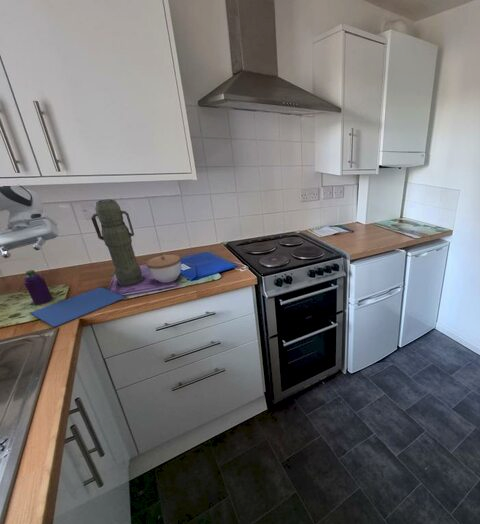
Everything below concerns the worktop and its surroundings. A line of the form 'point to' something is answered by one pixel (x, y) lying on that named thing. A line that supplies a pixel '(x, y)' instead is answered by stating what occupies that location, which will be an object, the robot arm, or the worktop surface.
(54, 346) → the worktop surface
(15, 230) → the robot arm
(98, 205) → the thermos
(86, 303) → the napkin
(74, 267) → the worktop surface
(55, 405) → the worktop surface
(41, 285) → the purple bottle
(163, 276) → the lidded bowl
